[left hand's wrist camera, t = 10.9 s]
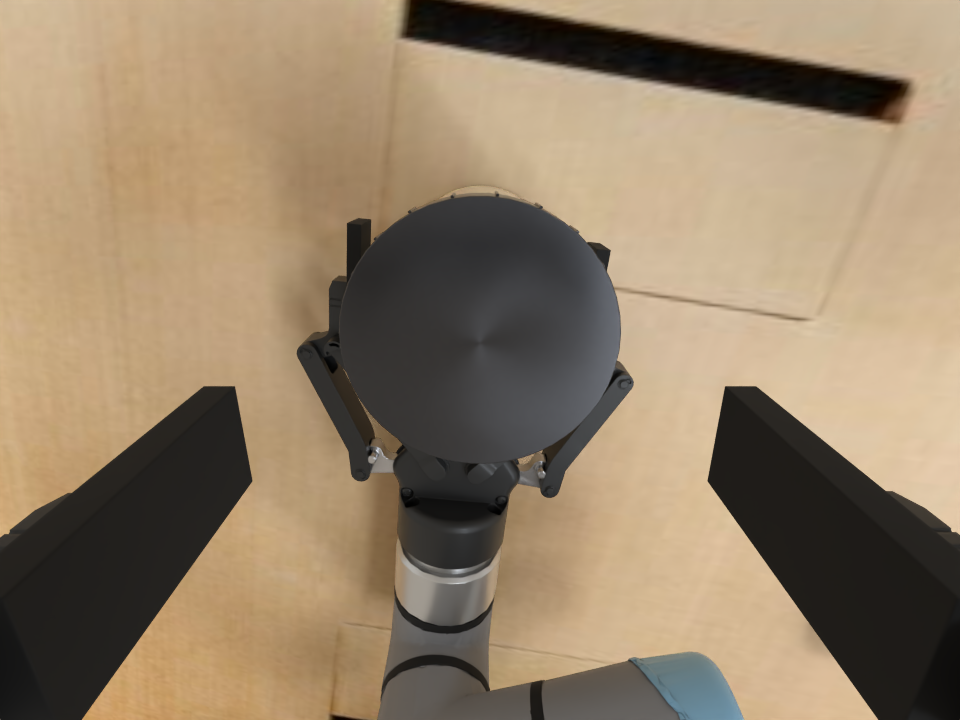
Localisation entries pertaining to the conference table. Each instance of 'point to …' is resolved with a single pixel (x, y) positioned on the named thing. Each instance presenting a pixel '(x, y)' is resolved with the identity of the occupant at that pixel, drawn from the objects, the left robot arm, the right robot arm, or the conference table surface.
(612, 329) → the lid
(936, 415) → the conference table surface
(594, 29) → the conference table surface
